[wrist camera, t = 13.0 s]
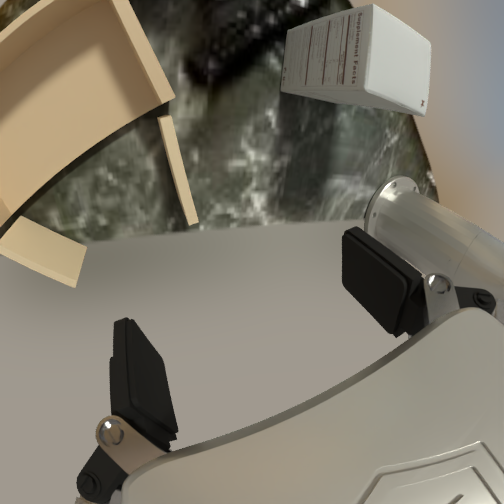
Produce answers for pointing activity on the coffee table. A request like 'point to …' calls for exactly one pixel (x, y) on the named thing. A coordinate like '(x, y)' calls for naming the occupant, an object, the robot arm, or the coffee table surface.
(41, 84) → the carton
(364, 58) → the supplement box
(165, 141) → the right flap
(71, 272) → the left flap
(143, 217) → the coffee table surface
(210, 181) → the coffee table surface
